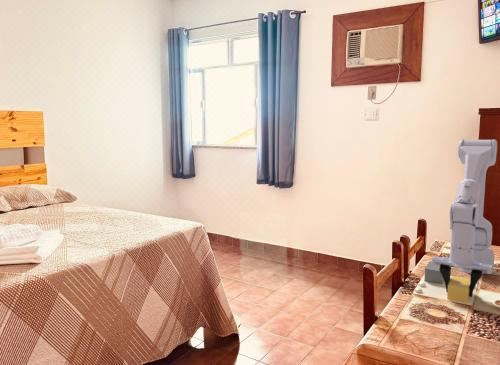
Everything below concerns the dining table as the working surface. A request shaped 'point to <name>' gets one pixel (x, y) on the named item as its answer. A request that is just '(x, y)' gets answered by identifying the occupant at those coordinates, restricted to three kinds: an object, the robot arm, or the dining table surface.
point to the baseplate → (438, 291)
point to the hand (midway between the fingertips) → (459, 293)
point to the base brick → (433, 274)
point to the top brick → (458, 289)
